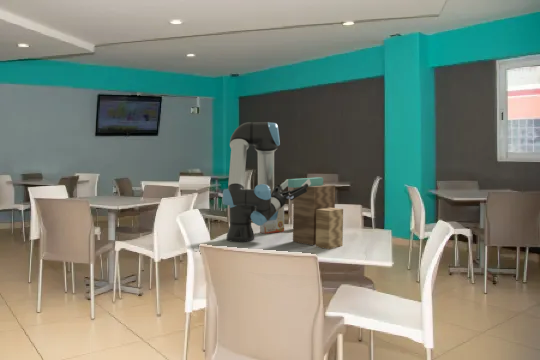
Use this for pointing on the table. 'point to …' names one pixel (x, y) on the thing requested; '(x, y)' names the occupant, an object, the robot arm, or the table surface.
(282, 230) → the cracker box
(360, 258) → the table surface
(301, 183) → the batten
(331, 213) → the short stand
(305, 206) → the tall stand
